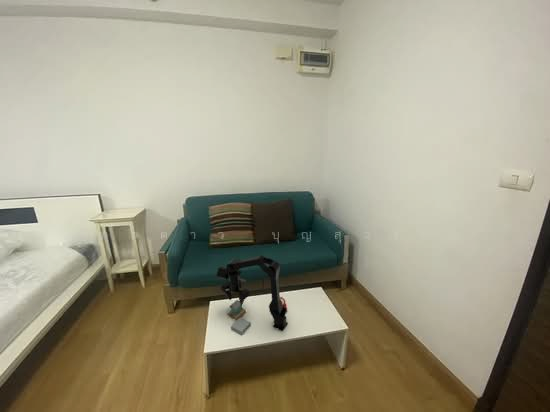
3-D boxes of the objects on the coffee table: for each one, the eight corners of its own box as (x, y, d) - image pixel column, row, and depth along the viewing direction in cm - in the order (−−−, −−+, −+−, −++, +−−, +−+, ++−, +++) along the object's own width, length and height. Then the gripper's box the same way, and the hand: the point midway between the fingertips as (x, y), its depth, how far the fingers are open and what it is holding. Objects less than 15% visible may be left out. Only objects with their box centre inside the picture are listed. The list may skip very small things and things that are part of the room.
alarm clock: (284, 294, 155) (288, 305, 140) (284, 303, 155) (289, 315, 140) (269, 296, 153) (272, 307, 138) (269, 305, 153) (272, 317, 139)
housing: (243, 309, 143) (242, 302, 142) (236, 316, 138) (235, 309, 136) (237, 306, 146) (236, 299, 145) (229, 313, 140) (229, 306, 139)
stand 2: (250, 325, 133) (250, 322, 133) (242, 335, 127) (241, 331, 126) (240, 320, 138) (239, 317, 137) (231, 329, 131) (230, 326, 130)
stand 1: (246, 312, 144) (245, 309, 143) (237, 321, 137) (237, 317, 137) (236, 308, 148) (236, 305, 147) (227, 316, 141) (227, 312, 141)
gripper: (254, 277, 138) (256, 299, 142) (231, 269, 147) (233, 290, 151) (243, 287, 129) (245, 310, 133) (219, 278, 138) (221, 300, 142)
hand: (236, 302), depth 140 cm, fingers open, 9 cm apart
